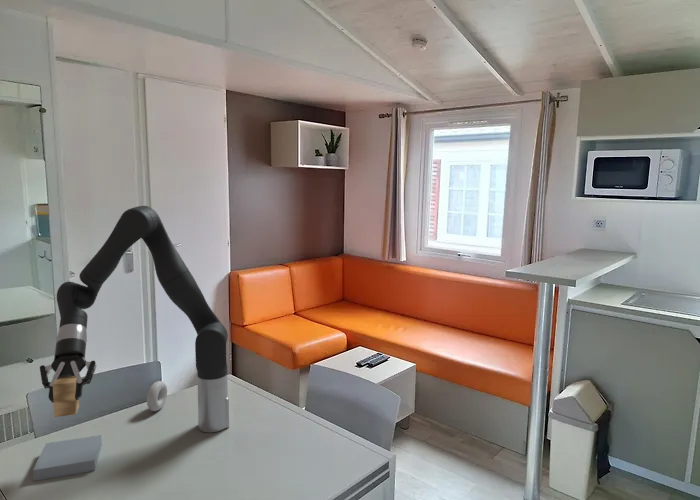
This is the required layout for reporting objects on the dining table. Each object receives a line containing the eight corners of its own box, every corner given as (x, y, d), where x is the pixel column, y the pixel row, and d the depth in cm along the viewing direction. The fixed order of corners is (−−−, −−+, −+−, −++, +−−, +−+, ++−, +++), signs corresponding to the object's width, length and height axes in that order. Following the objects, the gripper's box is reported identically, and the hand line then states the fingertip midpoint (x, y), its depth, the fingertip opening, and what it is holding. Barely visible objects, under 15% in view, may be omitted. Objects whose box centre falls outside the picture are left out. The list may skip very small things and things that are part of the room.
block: (79, 406, 132) (77, 375, 131) (75, 414, 127) (74, 382, 126) (58, 409, 130) (56, 377, 129) (54, 417, 125) (52, 384, 124)
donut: (154, 416, 157) (153, 388, 156) (145, 416, 157) (144, 387, 156) (169, 403, 167) (168, 376, 166) (160, 403, 167) (159, 376, 166)
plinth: (101, 444, 139) (101, 435, 139) (94, 470, 126) (94, 460, 126) (46, 453, 134) (46, 443, 134) (33, 481, 121) (32, 470, 121)
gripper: (39, 339, 131) (30, 398, 121) (97, 334, 136) (93, 391, 126) (45, 351, 136) (36, 409, 127) (100, 346, 141) (96, 401, 132)
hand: (65, 399), depth 126 cm, fingers closed on block, 5 cm apart
